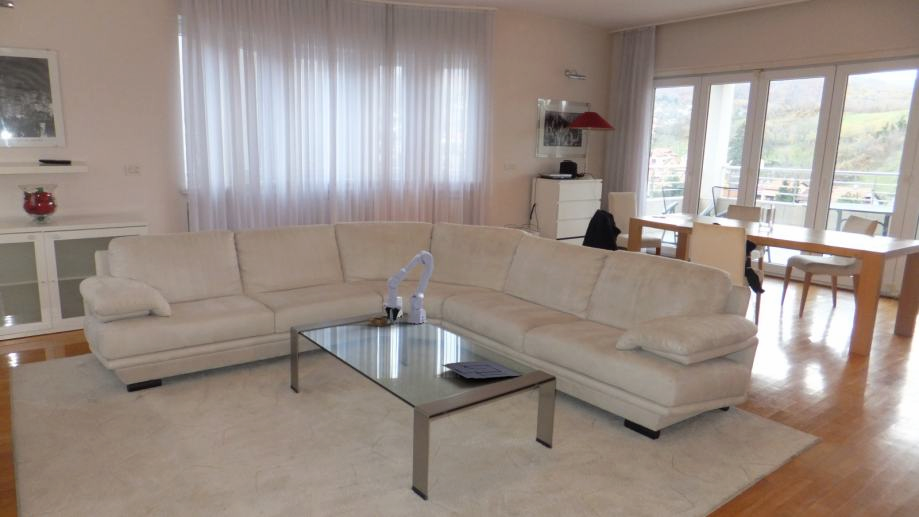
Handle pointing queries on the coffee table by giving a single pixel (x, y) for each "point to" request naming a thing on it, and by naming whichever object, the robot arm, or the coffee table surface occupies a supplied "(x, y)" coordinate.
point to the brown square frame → (378, 321)
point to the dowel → (391, 317)
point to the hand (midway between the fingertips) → (392, 319)
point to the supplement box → (399, 302)
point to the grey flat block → (479, 369)
